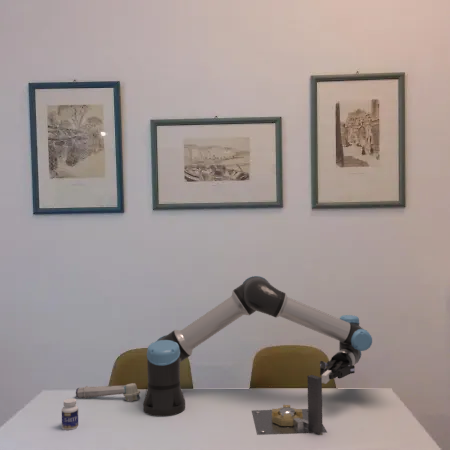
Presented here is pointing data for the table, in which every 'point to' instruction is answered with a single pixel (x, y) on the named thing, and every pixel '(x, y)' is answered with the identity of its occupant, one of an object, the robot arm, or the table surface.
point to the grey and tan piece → (313, 408)
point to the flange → (268, 427)
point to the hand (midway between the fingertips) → (323, 379)
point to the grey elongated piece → (110, 391)
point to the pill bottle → (69, 414)
